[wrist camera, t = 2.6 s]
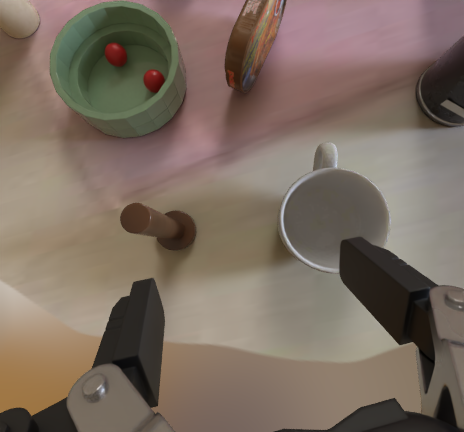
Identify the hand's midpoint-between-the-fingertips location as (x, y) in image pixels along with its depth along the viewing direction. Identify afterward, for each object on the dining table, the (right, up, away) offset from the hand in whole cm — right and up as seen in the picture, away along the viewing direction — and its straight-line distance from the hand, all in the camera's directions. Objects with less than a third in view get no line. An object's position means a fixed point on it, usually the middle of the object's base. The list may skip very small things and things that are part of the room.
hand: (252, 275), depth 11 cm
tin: (+2, +25, +26) cm, 36 cm away
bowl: (-15, +21, +26) cm, 36 cm away
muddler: (-8, +1, +23) cm, 24 cm away
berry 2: (-11, +20, +24) cm, 33 cm away
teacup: (+10, +3, +23) cm, 25 cm away
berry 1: (-16, +24, +24) cm, 38 cm away
